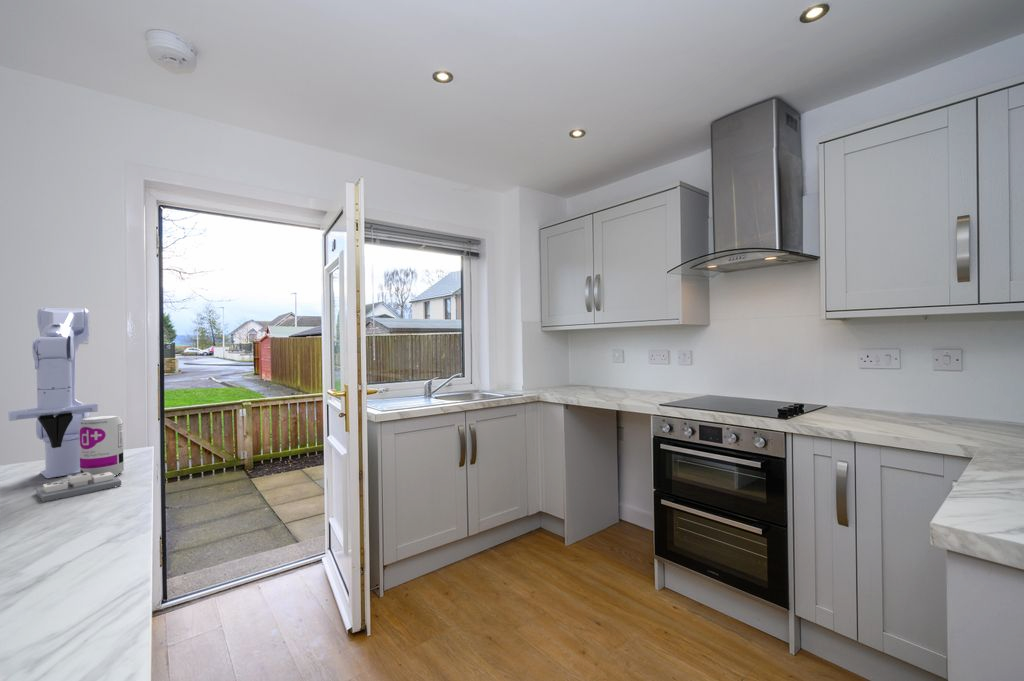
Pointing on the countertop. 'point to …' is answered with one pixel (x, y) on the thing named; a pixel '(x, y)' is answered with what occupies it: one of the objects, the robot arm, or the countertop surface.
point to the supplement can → (101, 444)
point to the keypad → (77, 489)
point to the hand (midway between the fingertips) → (56, 447)
